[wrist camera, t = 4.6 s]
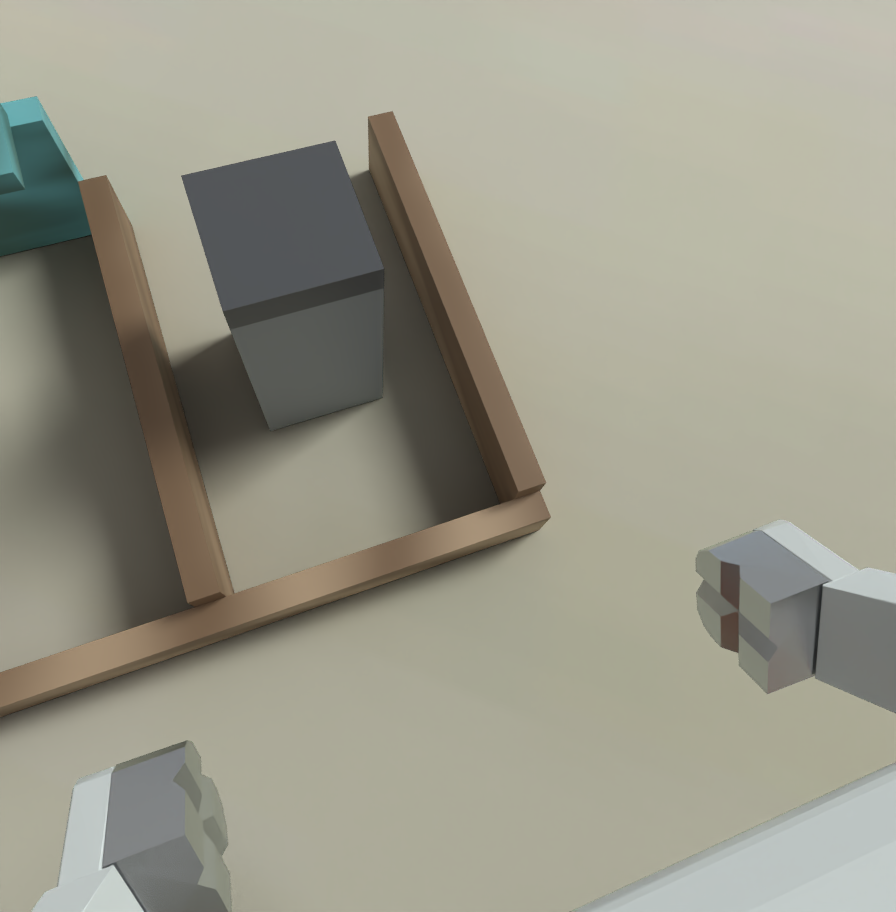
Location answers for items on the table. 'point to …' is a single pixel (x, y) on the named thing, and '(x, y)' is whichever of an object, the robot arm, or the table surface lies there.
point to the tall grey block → (295, 279)
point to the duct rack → (166, 431)
